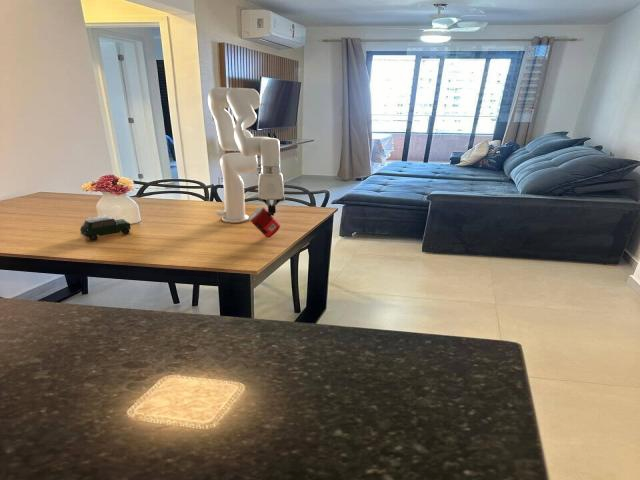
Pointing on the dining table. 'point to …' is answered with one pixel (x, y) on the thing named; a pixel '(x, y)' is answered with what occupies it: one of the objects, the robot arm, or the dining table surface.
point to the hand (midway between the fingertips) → (272, 214)
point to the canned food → (264, 222)
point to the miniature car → (103, 227)
